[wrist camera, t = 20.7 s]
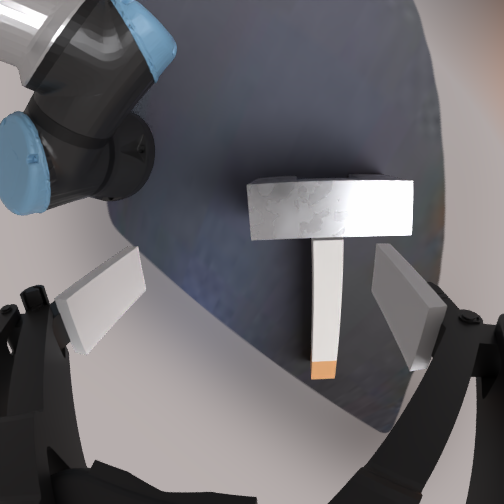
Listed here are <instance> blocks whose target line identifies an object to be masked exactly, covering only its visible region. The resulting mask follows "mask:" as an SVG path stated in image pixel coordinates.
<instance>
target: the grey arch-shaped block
mask: <svg viewBox="0 0 504 504" xmlns="http://www.w3.org/2000/svg"><path fill="white" fill-rule="evenodd" d="M247 196H248V207H249V219H250V230H251V240H271V239H297V238H325V237H356V236H390V235H411V234H412V214H413V181H411V180H406V179H402V178H398V177H393V176H389V175H384V174H348V178H314V179H297V177H296V176H278V177H261V178H258V179H256V180H254V181H252V182H251V183H249V184H247Z"/></svg>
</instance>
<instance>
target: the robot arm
mask: <svg viewBox="0 0 504 504" xmlns="http://www.w3.org/2000/svg"><path fill="white" fill-rule="evenodd" d="M176 53H177V46H176V43H175V41H174V39H173V37H172V36H171V35H170V33H169V32H168V31H167V30H166V29H165V28H164V26H163V25H162V24H161V23H160V22H159V21H158V20H157V19H156V18H155V17H154V16H153V15H152V14H151V13H150V12H149V11H148V10H147V9H146V8H145V7H144V6H142V5H141V4H140V3H139V2H138V1H135V0H0V61H3V62H6V63H8V64H11V65H13V66H16V67H17V68H18V70H19V74H20V79H21V83H22V86H24V87H26V88H29V89H31V90H33V91H34V94H33V96H32V97H31V99H30V101H29V103H28V105H27V107H26V109H25V111H24V112H20V111H17V112H14V113H13V114H10V115H8V116H7V117H6V118H4V119H3V120H2V122H1V123H0V198H1V200H2V202H3V204H4V205H5V206H6V207H7V208H8V209H9V210H10V211H11V212H13V213H14V214H17V215H29V214H33V213H42V212H44V211H46V210H48V209H51V208H54V207H57V206H60V205H63V204H66V203H70V202H73V201H76V200H80V199H83V198H87V197H91V198H95V199H99V200H103V201H117V200H121V199H124V198H127V197H130V196H132V195H133V194H135V193H136V192H137V191H139V190H140V189H141V188H142V186H143V185H144V184H145V183H146V181H147V179H148V178H149V175H150V173H151V171H152V168H153V164H154V158H155V145H154V139H153V136H152V133H151V131H150V129H149V127H148V125H147V124H146V123H145V121H144V120H143V119H142V118H140V117H139V116H138V115H136V114H134V113H132V112H130V111H131V110H132V109H133V108H134V106H135V105H136V104H137V103H138V101H139V100H140V99H141V98H142V97H143V95H144V94H145V93H146V92H147V91H148V89H149V88H150V87H151V86H152V85H153V84H154V83H156V82H157V81H158V77H159V76H160V75H161V73H162V72H163V71H164V70H165V69H166V67H167V66H168V65H169V64H170V63H171V62H172V60H173V59H174V58H175V56H176ZM145 291H146V286H145V281H144V277H143V272H142V266H141V261H140V255H139V250H138V247H126V248H125V249H123V250H122V251H120V252H119V253H117V254H116V255H114V256H113V257H112V258H110V259H108V260H107V261H105V262H104V263H103V264H101V265H100V266H98V267H97V268H95V269H94V270H93V271H91V272H90V273H88V274H87V275H85V276H84V277H83V278H81V279H80V280H79V281H77V282H76V283H74V284H73V285H72V286H70V287H69V288H68V289H66V290H65V291H64V292H62V293H61V294H60V295H58V296H57V297H56V298H55V301H54V302H53V303H51V304H50V303H49V300H48V297H47V294H46V291H45V288H44V286H42V285H36V286H32V287H29V288H27V289H25V290H24V291H23V292H22V293H21V294H20V296H21V299H22V302H23V305H24V307H25V310H26V313H25V314H20V312H19V310H18V307H17V305H15V304H11V305H6V306H4V307H2V308H1V310H0V504H257V498H256V497H248V496H238V495H229V494H222V493H215V492H195V493H194V492H192V493H191V492H190V493H181V492H180V493H179V492H177V493H176V492H174V493H173V492H163V491H160V490H159V489H157V488H155V487H153V486H151V485H149V484H148V483H146V482H144V481H142V480H141V479H139V478H137V477H135V476H133V475H132V474H131V473H129V472H127V471H124V470H121V469H118V468H116V467H113V466H110V465H108V464H105V463H102V462H100V461H97V460H95V461H94V463H93V465H92V467H91V468H87V466H86V463H85V460H84V455H83V452H82V447H81V442H80V437H79V432H78V427H77V421H76V415H75V409H74V402H73V394H72V386H71V375H70V363H69V352H68V349H67V347H66V345H67V344H68V343H69V342H71V344H72V347H73V349H74V351H75V352H76V353H80V354H84V355H87V354H88V353H89V352H90V351H91V350H92V348H93V347H94V346H95V345H96V344H97V343H98V342H99V341H100V340H101V338H102V337H103V336H104V335H105V334H106V333H107V332H108V331H109V329H110V328H111V327H112V326H113V325H114V324H115V323H116V322H117V321H118V320H119V318H120V317H121V316H122V315H123V314H124V313H125V312H126V311H127V310H128V308H129V307H130V306H131V305H132V304H133V303H134V302H135V301H136V300H137V299H138V298H139V297H140V296H141V295H142V294H143V293H144V292H145ZM371 292H372V293H373V295H374V297H375V299H376V301H377V303H378V305H379V307H380V309H381V311H382V313H383V315H384V317H385V319H386V321H387V323H388V325H389V327H390V329H391V331H392V333H393V335H394V337H395V339H396V342H397V344H398V346H399V348H400V350H401V352H402V354H403V357H404V359H405V361H406V363H407V366H408V368H409V370H410V371H415V370H422V369H427V367H428V364H429V362H430V360H431V357H433V359H432V361H431V363H430V365H429V367H428V369H427V371H426V373H425V375H424V377H423V379H422V381H421V382H420V384H419V386H418V388H417V390H416V391H415V393H414V395H413V397H412V398H411V400H410V402H409V403H408V405H407V407H406V408H405V410H404V412H403V413H402V415H401V416H400V418H399V420H398V421H397V422H396V424H395V426H394V427H393V429H392V430H391V431H390V433H389V434H388V436H387V437H386V439H385V440H384V442H383V443H382V444H381V446H380V447H379V448H378V450H377V451H376V452H375V454H374V455H373V456H372V458H371V459H370V460H369V462H368V463H367V464H366V465H365V466H364V467H362V468H360V469H359V470H358V471H357V473H356V474H355V475H354V476H353V477H352V478H351V479H350V480H349V481H348V483H347V484H346V485H345V486H344V487H343V488H342V489H341V490H340V492H338V494H337V495H336V496H335V497H334V498H333V499H332V500H331V501H330V502H329V503H328V504H419V503H420V501H421V498H422V494H421V492H422V490H423V488H424V486H425V484H426V482H427V480H428V479H429V477H430V475H431V473H432V471H433V470H434V468H435V466H436V464H437V462H438V460H439V458H440V456H441V454H442V451H443V449H444V447H445V445H446V443H447V441H448V438H449V436H450V434H451V431H452V429H453V427H454V424H455V422H456V419H457V416H458V414H459V411H460V408H461V406H462V403H463V400H464V397H465V394H466V391H467V387H468V384H469V381H470V378H471V377H476V389H477V390H476V391H477V414H476V436H475V449H474V459H473V466H472V473H471V480H470V486H469V491H468V497H467V501H466V504H504V314H501V315H500V316H499V319H498V322H497V324H496V325H489V324H483V320H482V318H481V317H480V316H479V315H478V314H476V313H475V312H472V311H469V310H460V309H459V308H458V307H457V306H456V305H455V304H454V303H453V302H452V300H450V298H448V296H447V295H446V294H444V292H443V291H442V290H441V288H440V287H439V286H437V285H435V284H433V283H432V282H426V281H425V280H424V279H423V278H422V277H421V276H420V275H419V274H418V272H417V271H416V270H415V269H414V268H413V267H412V266H411V265H410V264H409V263H408V262H407V261H406V260H405V259H404V258H403V257H402V256H401V255H400V254H399V253H398V252H397V251H396V250H395V248H394V247H393V246H392V245H391V244H376V254H375V264H374V273H373V282H372V290H371ZM7 341H8V343H9V345H10V347H11V349H12V353H11V354H10V351H9V349H8V346H7Z"/></svg>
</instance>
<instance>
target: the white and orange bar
mask: <svg viewBox="0 0 504 504" xmlns="http://www.w3.org/2000/svg"><path fill="white" fill-rule="evenodd" d="M311 243H312V331H311V379H329V378H335V370H336V361H337V352H338V341H339V329H340V316H341V300H342V278H343V238H342V237H325V238H311Z"/></svg>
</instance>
